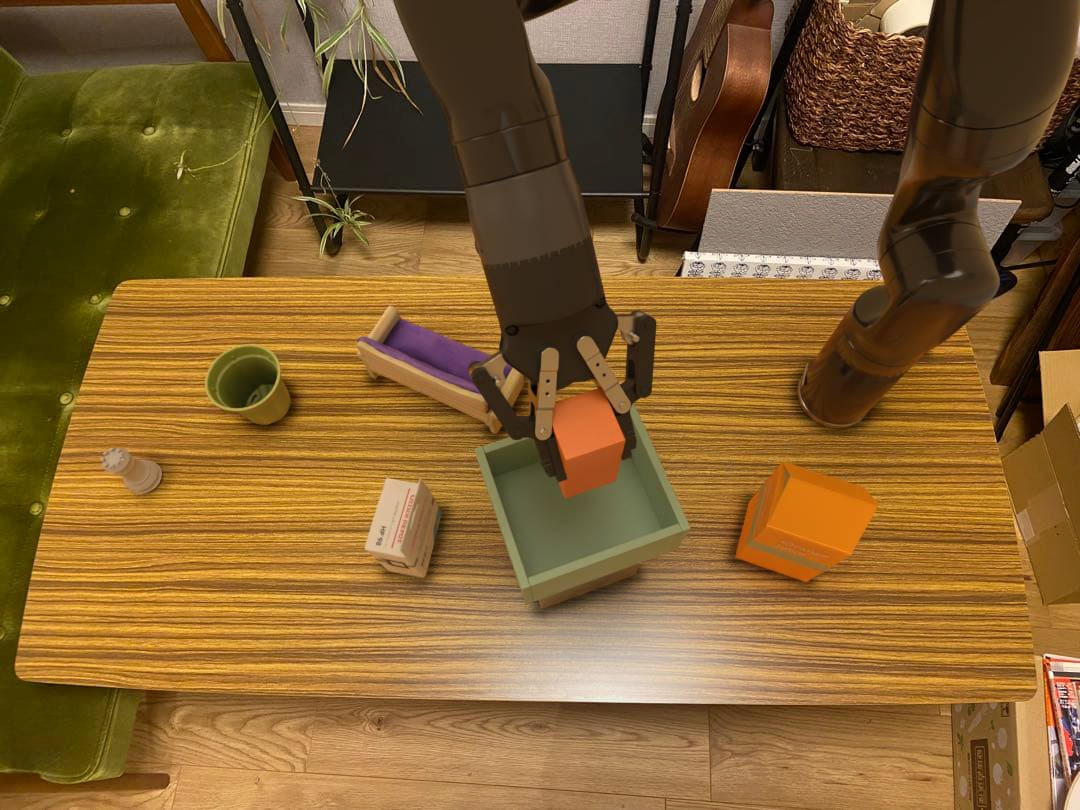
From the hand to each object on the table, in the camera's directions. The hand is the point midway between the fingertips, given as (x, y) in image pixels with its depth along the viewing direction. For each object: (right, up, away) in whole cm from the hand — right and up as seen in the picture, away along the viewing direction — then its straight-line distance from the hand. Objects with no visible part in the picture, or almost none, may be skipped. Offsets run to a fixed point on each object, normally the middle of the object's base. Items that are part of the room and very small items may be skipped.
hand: (592, 465), depth 53 cm
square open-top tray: (0, -6, +17) cm, 18 cm away
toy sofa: (-17, +8, +44) cm, 48 cm away
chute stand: (0, -14, +34) cm, 36 cm away
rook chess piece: (-55, -5, +39) cm, 68 cm away
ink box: (-19, -13, +35) cm, 42 cm away
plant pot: (-41, +4, +43) cm, 60 cm away
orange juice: (+25, -12, +34) cm, 44 cm away
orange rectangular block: (-1, 0, +5) cm, 5 cm away
